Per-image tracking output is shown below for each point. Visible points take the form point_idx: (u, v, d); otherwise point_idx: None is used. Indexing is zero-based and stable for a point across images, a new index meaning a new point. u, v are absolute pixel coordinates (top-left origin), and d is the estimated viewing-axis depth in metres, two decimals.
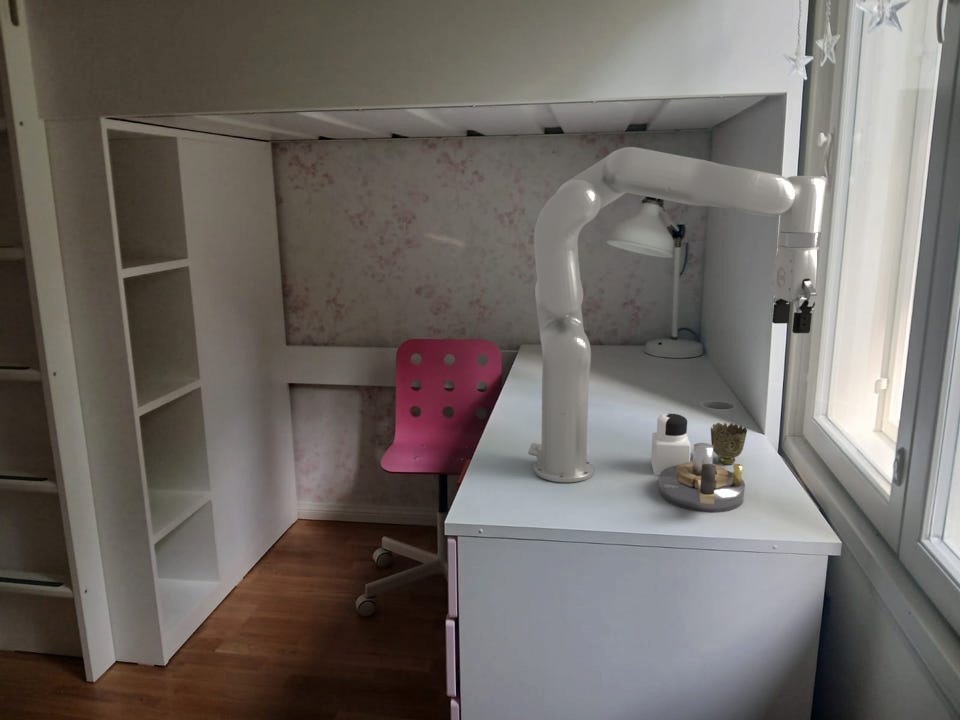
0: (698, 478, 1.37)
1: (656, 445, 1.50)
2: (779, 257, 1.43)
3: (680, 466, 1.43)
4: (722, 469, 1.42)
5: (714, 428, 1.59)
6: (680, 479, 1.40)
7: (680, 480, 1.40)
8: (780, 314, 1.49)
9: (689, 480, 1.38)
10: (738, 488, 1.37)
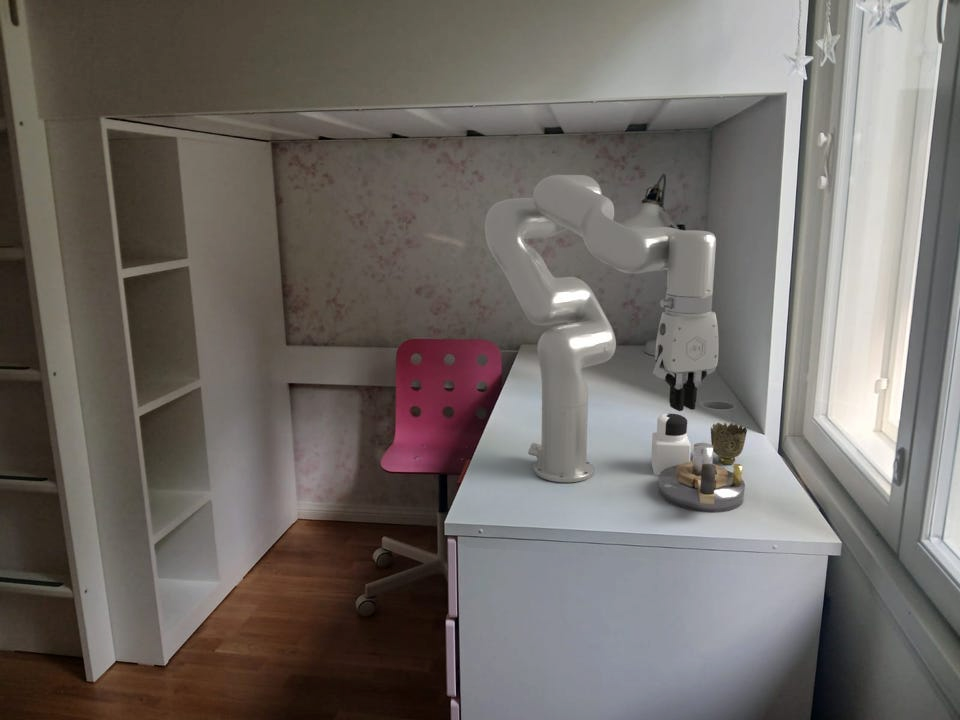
0: (698, 478, 1.37)
1: (656, 445, 1.50)
2: (688, 326, 1.21)
3: (680, 466, 1.43)
4: (722, 469, 1.42)
5: (714, 428, 1.59)
6: (680, 479, 1.40)
7: (680, 480, 1.40)
8: None
9: (689, 480, 1.38)
10: (738, 488, 1.37)
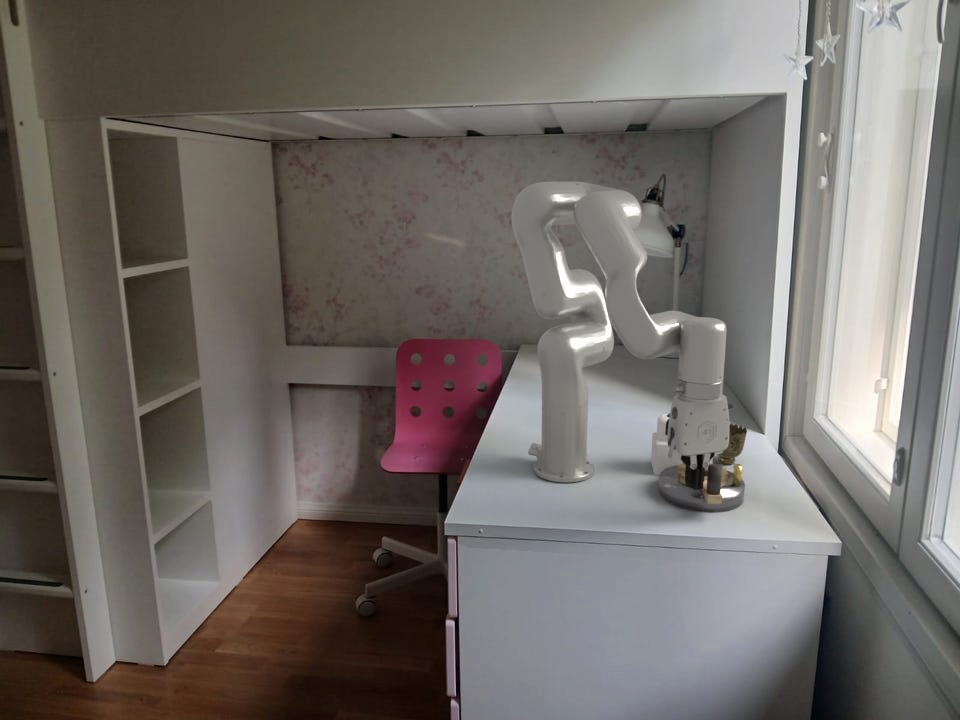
0: None
1: (656, 445, 1.50)
2: (699, 411, 1.24)
3: (679, 467, 1.43)
4: None
5: None
6: (682, 480, 1.39)
7: (682, 481, 1.39)
8: None
9: None
10: (738, 488, 1.37)
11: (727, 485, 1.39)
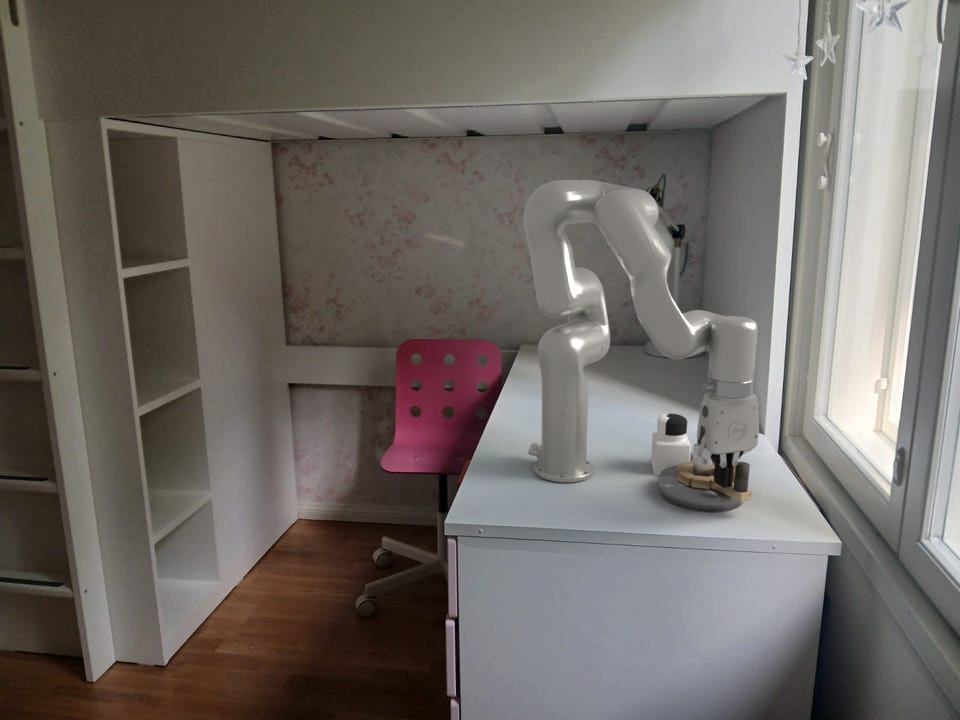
0: (712, 479, 1.37)
1: (656, 445, 1.50)
2: (730, 410, 1.25)
3: (680, 471, 1.41)
4: None
5: None
6: (694, 484, 1.37)
7: (694, 485, 1.37)
8: None
9: (705, 483, 1.36)
10: None
11: None
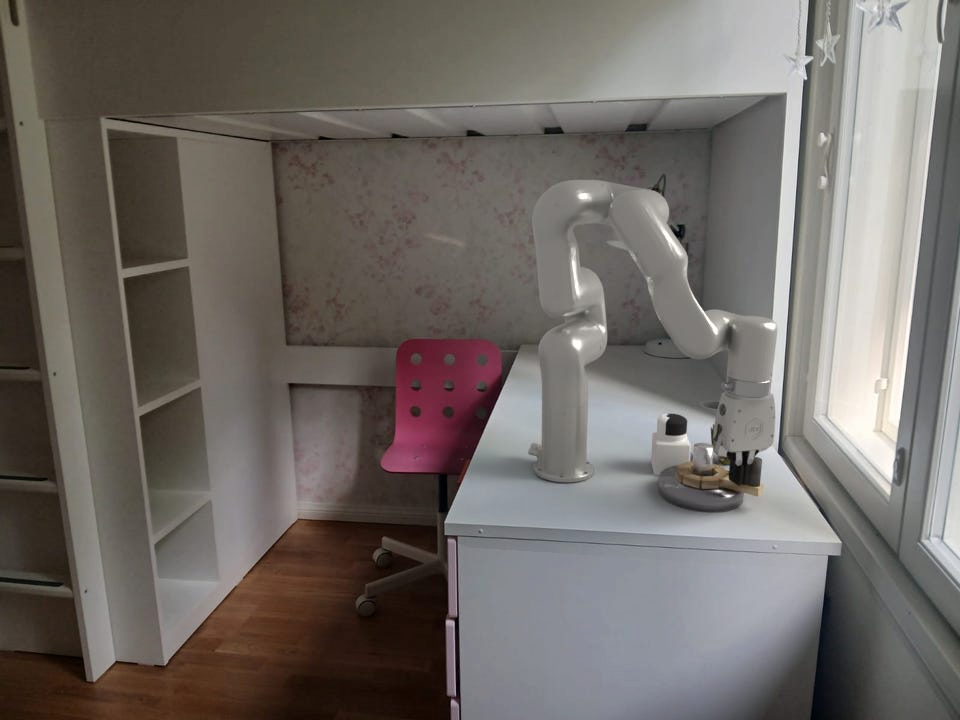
0: (719, 477, 1.38)
1: (656, 445, 1.50)
2: (747, 409, 1.26)
3: (685, 475, 1.39)
4: None
5: None
6: (705, 485, 1.37)
7: (704, 487, 1.37)
8: None
9: (715, 482, 1.37)
10: None
11: None
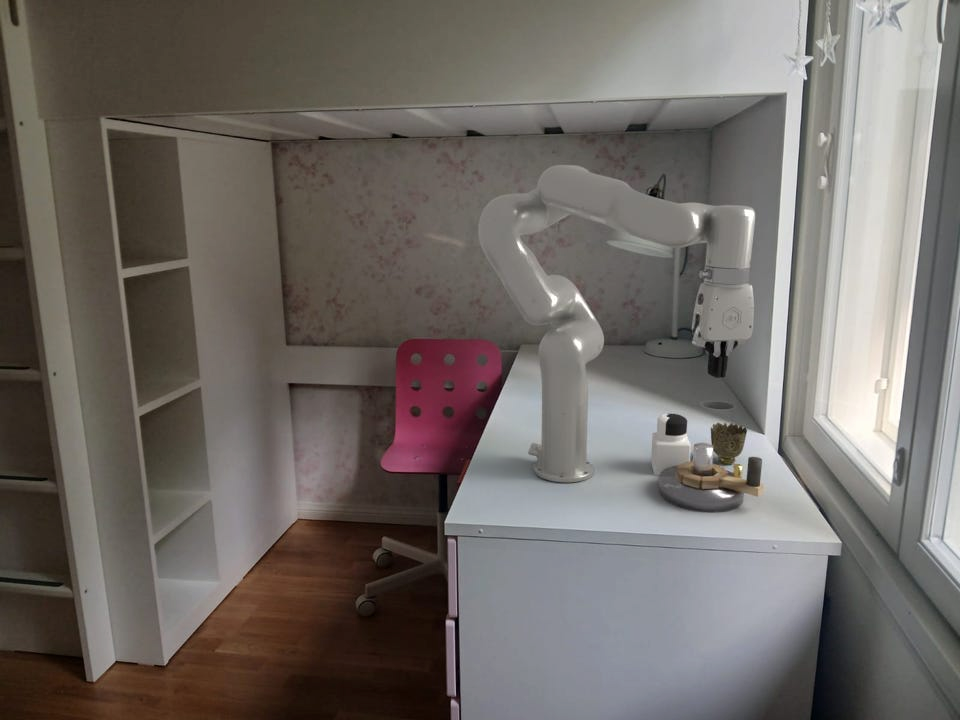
0: (719, 477, 1.38)
1: (656, 445, 1.50)
2: (725, 297, 1.27)
3: (685, 475, 1.39)
4: None
5: (714, 428, 1.59)
6: (705, 485, 1.37)
7: (704, 487, 1.37)
8: None
9: (715, 482, 1.37)
10: None
11: None
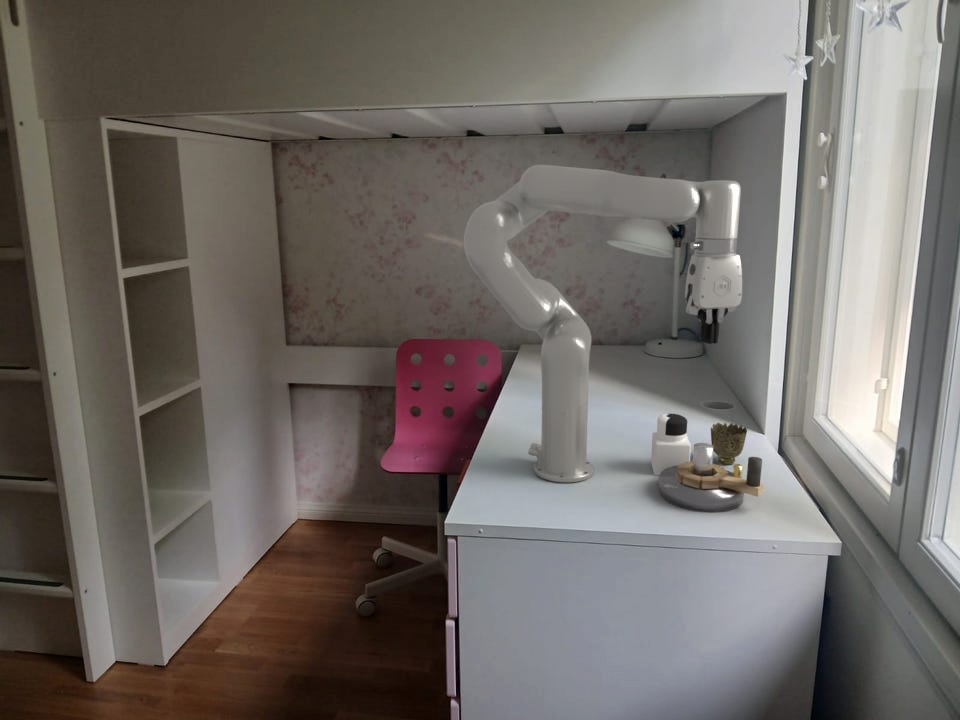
0: (719, 477, 1.38)
1: (656, 445, 1.50)
2: (715, 266, 1.35)
3: (685, 475, 1.39)
4: None
5: (714, 428, 1.59)
6: (705, 485, 1.37)
7: (704, 487, 1.37)
8: None
9: (715, 482, 1.37)
10: None
11: None
